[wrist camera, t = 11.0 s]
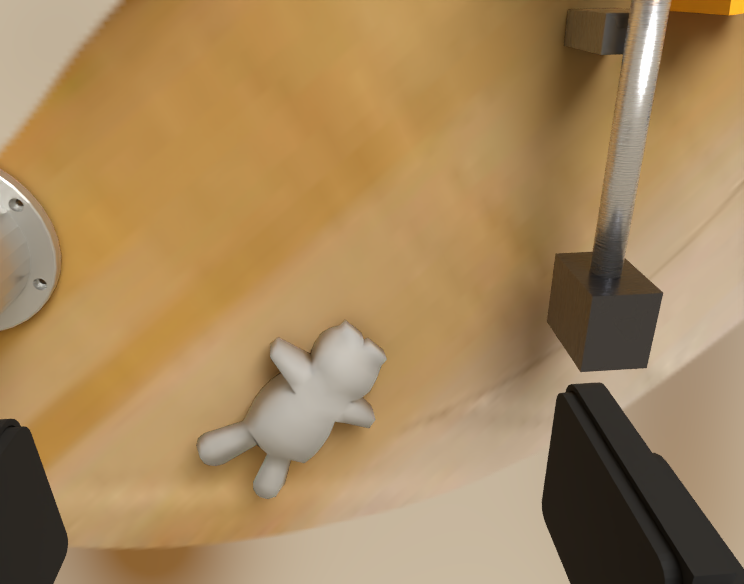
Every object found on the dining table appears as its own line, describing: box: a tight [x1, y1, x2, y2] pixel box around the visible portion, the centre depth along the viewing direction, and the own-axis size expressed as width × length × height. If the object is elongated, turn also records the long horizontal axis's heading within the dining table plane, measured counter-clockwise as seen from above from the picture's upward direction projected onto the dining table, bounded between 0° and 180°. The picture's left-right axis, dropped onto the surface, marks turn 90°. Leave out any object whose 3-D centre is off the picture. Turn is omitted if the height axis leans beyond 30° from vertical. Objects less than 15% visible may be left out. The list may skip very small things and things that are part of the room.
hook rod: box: [547, 0, 671, 372], centre depth 33 cm, size 23×4×6 cm, turn 1°
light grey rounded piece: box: [196, 320, 387, 499], centre depth 45 cm, size 10×5×15 cm
